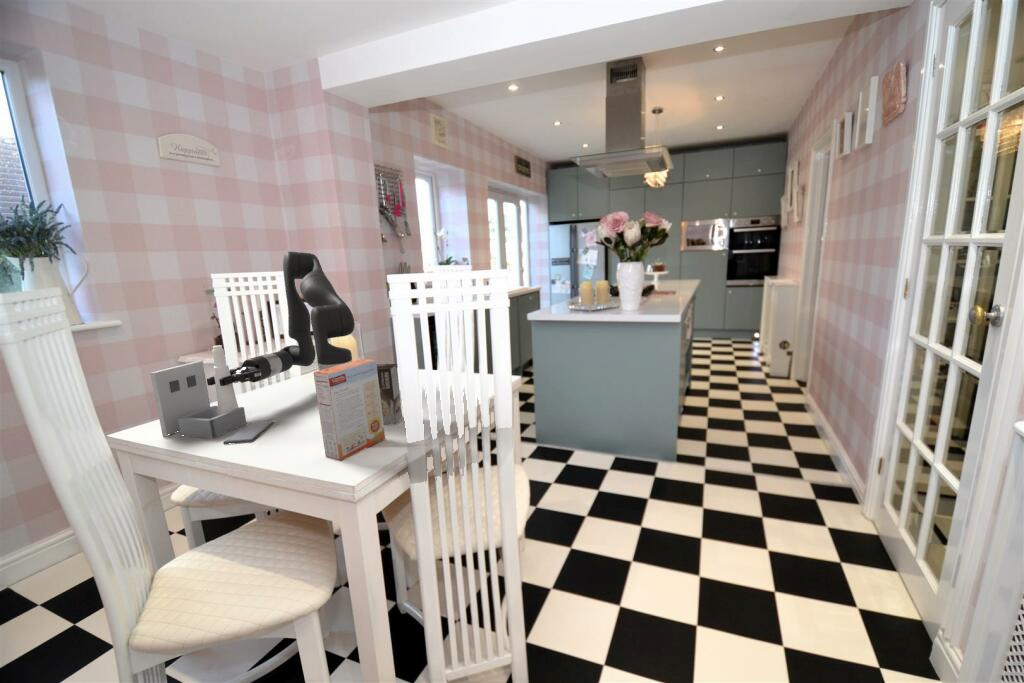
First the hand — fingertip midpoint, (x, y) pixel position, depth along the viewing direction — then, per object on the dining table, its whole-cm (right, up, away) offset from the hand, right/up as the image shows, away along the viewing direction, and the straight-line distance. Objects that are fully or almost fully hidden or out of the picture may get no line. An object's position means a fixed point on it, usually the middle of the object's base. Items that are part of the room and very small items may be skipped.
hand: (214, 382), depth 127 cm
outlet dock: (-3, -13, +1) cm, 14 cm away
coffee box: (+48, -11, +1) cm, 49 cm away
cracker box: (+46, -15, -17) cm, 51 cm away
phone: (+12, -14, -4) cm, 19 cm away
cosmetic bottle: (+1, -11, +5) cm, 13 cm away
